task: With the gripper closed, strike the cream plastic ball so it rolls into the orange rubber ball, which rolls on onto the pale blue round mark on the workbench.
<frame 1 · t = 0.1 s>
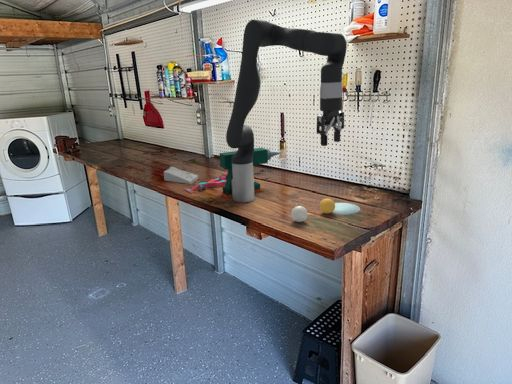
hand: (330, 143, 133), 29 cm above the table, tool pointing down, fingers open, 8 cm apart
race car: (209, 188, 195), on the table
cue ball: (299, 213, 142), on the table
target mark: (342, 208, 153), on the table
ramp: (180, 180, 213), on the table
object ball: (327, 205, 149), on the table
power tool: (254, 190, 184), on the table
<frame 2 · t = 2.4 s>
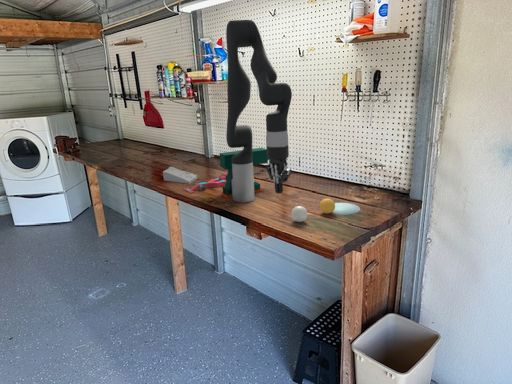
hand: (279, 192, 133), 14 cm above the table, tool pointing down, fingers closed
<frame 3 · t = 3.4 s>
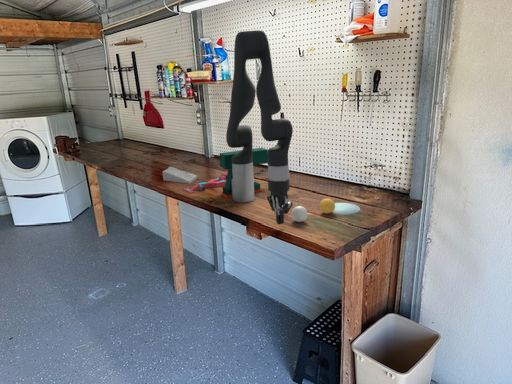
hand: (280, 223, 136), 2 cm above the table, tool pointing down, fingers closed
nothing on the table moved.
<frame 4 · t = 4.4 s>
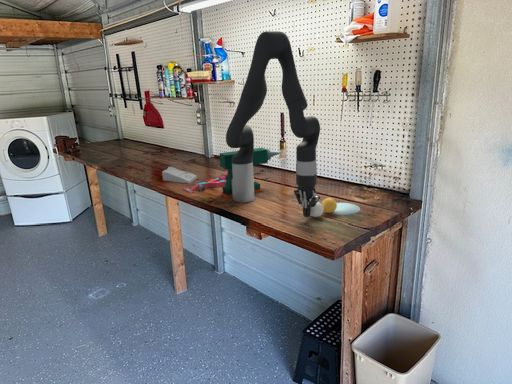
hand: (306, 216, 143), 2 cm above the table, tool pointing down, fingers closed
cue ball: (315, 209, 146), on the table
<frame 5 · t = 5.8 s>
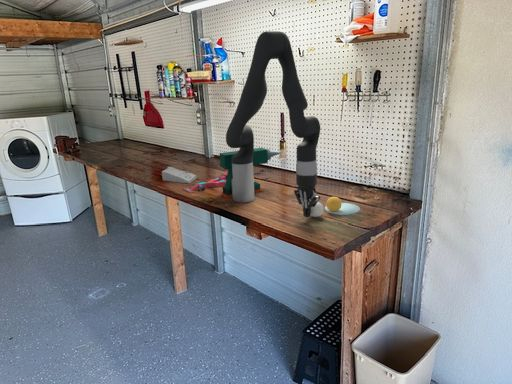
hand: (306, 216, 143), 2 cm above the table, tool pointing down, fingers closed
object ball: (333, 204, 150), on the table
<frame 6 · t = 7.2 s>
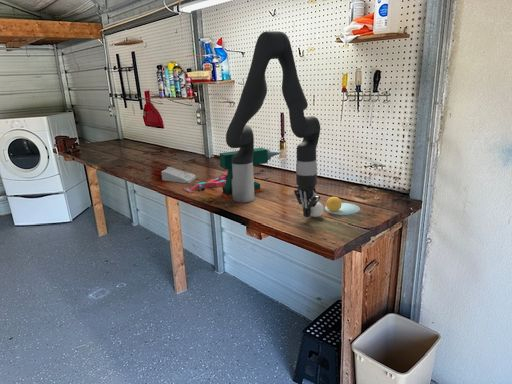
hand: (306, 216, 143), 2 cm above the table, tool pointing down, fingers closed
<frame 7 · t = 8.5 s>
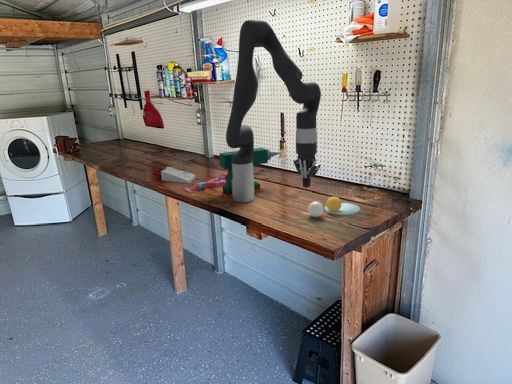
hand: (306, 187, 140), 13 cm above the table, tool pointing down, fingers closed
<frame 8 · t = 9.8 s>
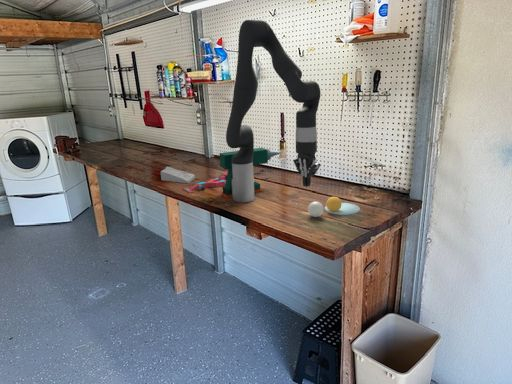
hand: (306, 186, 139), 13 cm above the table, tool pointing down, fingers closed
at the end: object ball 4.5 cm from the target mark (horizontally); object ball never touched the robot; cue ball first touched object ball at 4.3 s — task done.
